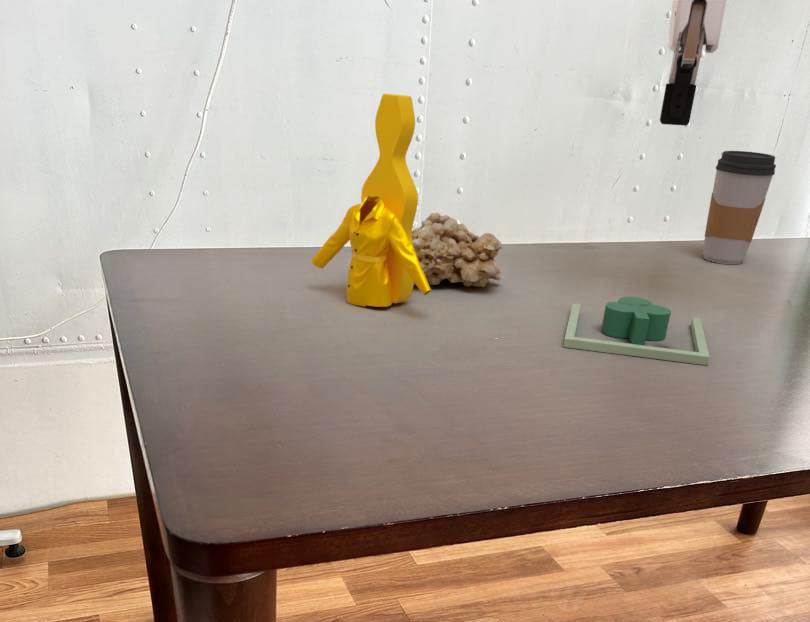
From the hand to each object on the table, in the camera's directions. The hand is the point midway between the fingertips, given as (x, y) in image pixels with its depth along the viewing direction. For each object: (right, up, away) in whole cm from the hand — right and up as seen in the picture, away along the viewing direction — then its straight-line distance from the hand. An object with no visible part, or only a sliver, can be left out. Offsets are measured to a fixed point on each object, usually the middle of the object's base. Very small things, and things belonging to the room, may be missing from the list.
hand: (673, 123), depth 94 cm
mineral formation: (-25, -13, +15) cm, 32 cm away
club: (-5, -24, 0) cm, 24 cm away
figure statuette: (-34, -19, +5) cm, 39 cm away
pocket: (-5, -24, -1) cm, 25 cm away
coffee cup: (+19, -4, +34) cm, 39 cm away
